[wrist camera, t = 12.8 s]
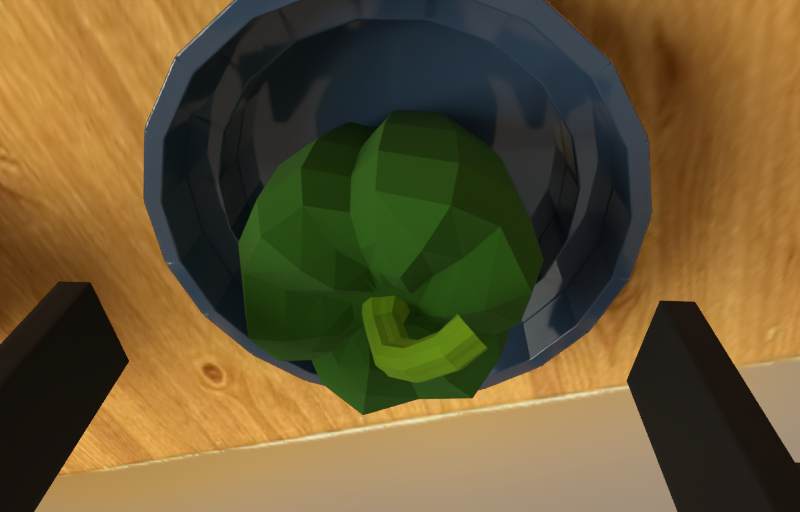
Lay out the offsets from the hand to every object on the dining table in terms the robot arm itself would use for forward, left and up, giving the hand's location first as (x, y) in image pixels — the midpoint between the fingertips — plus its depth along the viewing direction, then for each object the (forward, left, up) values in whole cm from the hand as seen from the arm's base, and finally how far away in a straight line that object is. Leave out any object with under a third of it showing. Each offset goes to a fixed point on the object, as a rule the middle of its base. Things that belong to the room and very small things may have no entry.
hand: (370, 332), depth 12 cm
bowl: (0, 0, -9) cm, 9 cm away
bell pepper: (0, 0, -9) cm, 9 cm away
